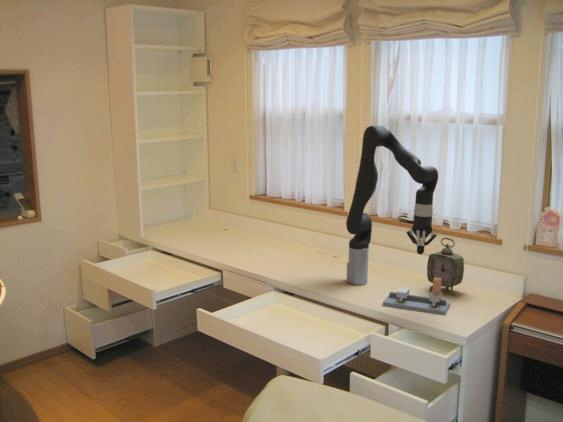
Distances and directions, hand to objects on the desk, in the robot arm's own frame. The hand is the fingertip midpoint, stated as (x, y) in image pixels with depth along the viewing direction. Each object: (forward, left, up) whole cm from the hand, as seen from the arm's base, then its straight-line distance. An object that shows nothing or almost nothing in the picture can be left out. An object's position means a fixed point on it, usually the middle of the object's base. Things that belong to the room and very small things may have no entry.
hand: (420, 253), depth 262 cm
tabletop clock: (+8, +23, -22) cm, 33 cm away
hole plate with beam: (0, -2, -22) cm, 22 cm away
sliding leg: (+8, -2, -20) cm, 22 cm away
